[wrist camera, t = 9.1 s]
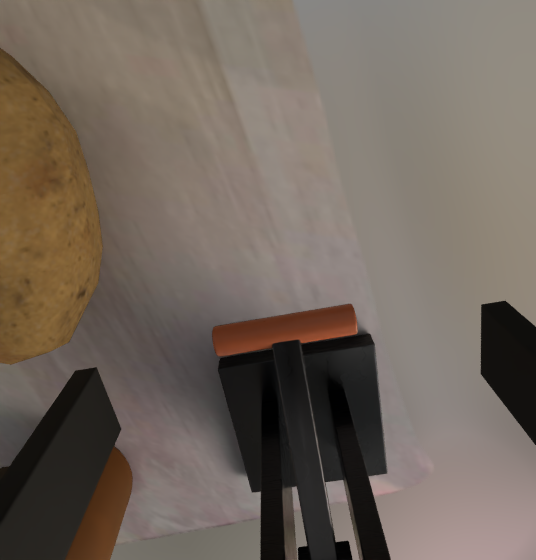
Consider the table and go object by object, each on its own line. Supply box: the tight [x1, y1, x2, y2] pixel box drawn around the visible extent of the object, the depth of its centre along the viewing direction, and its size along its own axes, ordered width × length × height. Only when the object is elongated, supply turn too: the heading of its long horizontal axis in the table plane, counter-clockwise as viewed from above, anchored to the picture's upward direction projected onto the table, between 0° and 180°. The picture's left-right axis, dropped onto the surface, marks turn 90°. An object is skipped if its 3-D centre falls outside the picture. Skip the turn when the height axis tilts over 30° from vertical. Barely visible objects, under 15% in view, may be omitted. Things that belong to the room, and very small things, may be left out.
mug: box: [65, 447, 132, 560], centre depth 25 cm, size 12×8×9 cm, turn 101°
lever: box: [212, 304, 358, 560], centre depth 17 cm, size 13×6×2 cm, turn 10°
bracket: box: [218, 334, 391, 560], centre depth 22 cm, size 10×9×13 cm
